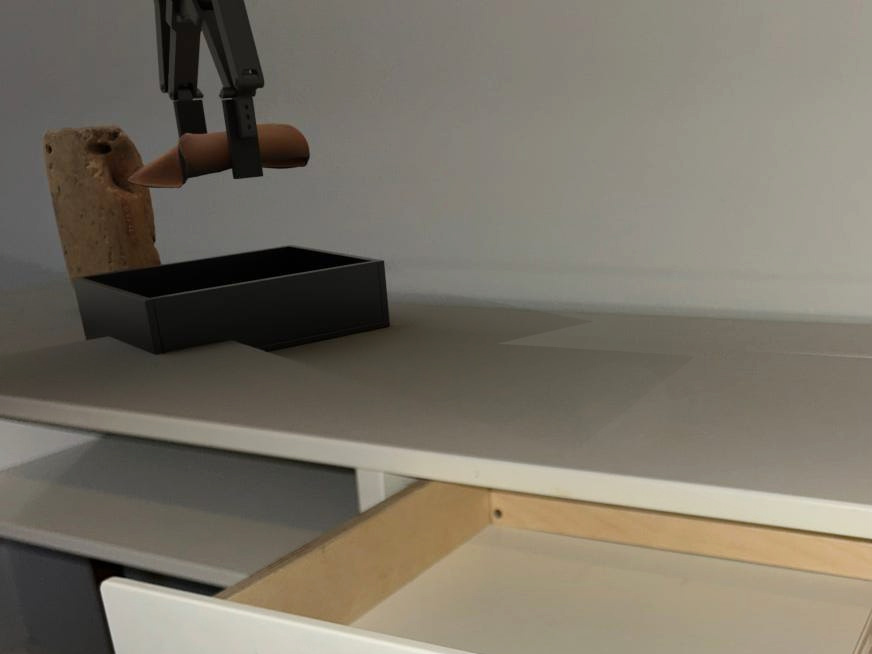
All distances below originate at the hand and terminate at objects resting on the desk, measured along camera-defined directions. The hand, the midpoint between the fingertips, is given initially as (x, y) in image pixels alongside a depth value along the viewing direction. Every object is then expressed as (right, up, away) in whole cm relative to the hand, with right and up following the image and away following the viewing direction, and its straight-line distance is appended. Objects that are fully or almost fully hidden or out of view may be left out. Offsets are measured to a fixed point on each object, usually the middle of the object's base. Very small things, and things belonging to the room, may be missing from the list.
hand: (223, 175), depth 102 cm
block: (-18, -5, +26) cm, 32 cm away
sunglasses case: (0, 0, 0) cm, 0 cm away
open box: (-1, -12, +10) cm, 16 cm away
